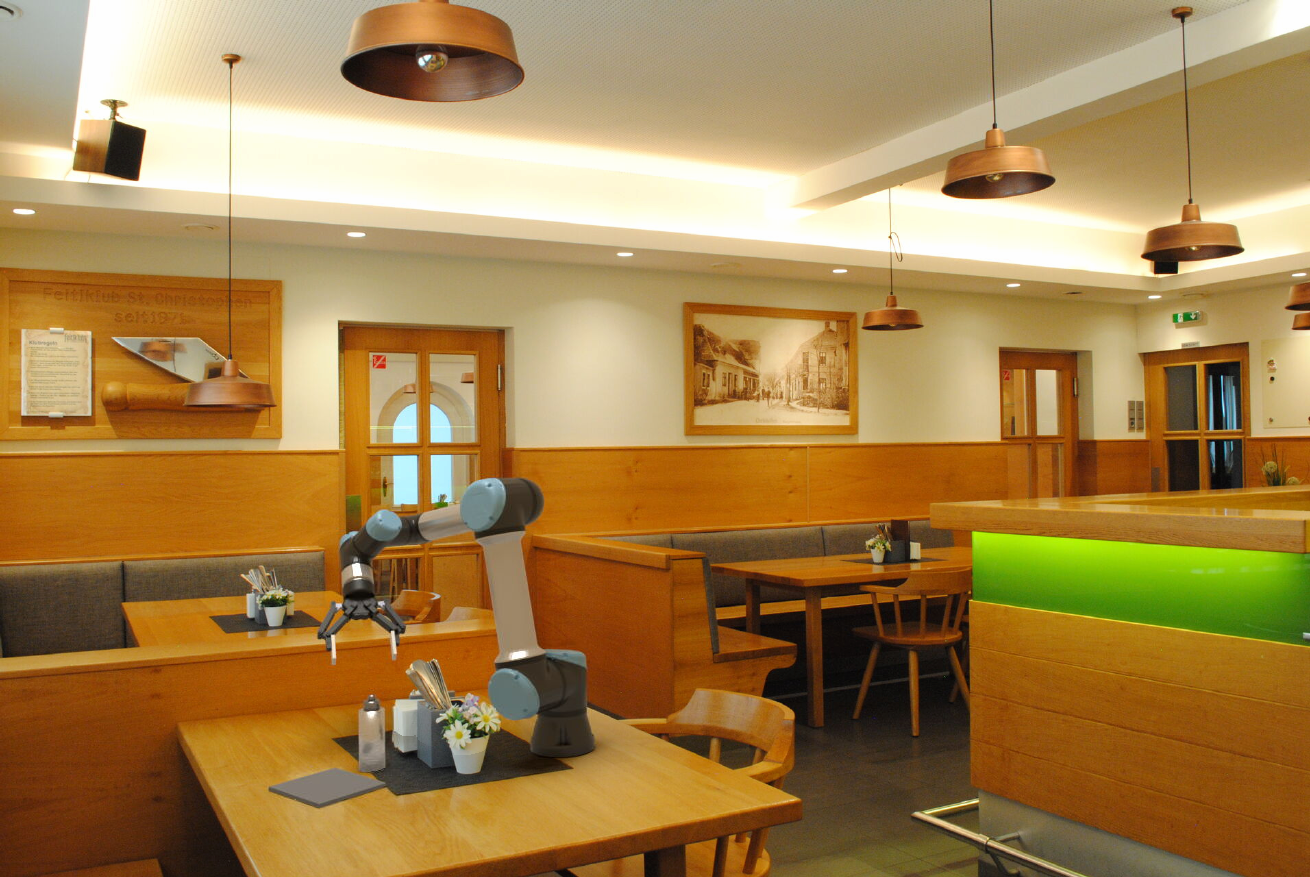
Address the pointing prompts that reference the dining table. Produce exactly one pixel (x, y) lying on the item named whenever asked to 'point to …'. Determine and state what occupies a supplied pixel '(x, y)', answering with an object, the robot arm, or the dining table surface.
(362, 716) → the pepper mill
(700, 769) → the dining table surface
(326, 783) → the slate mat
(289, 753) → the dining table surface
